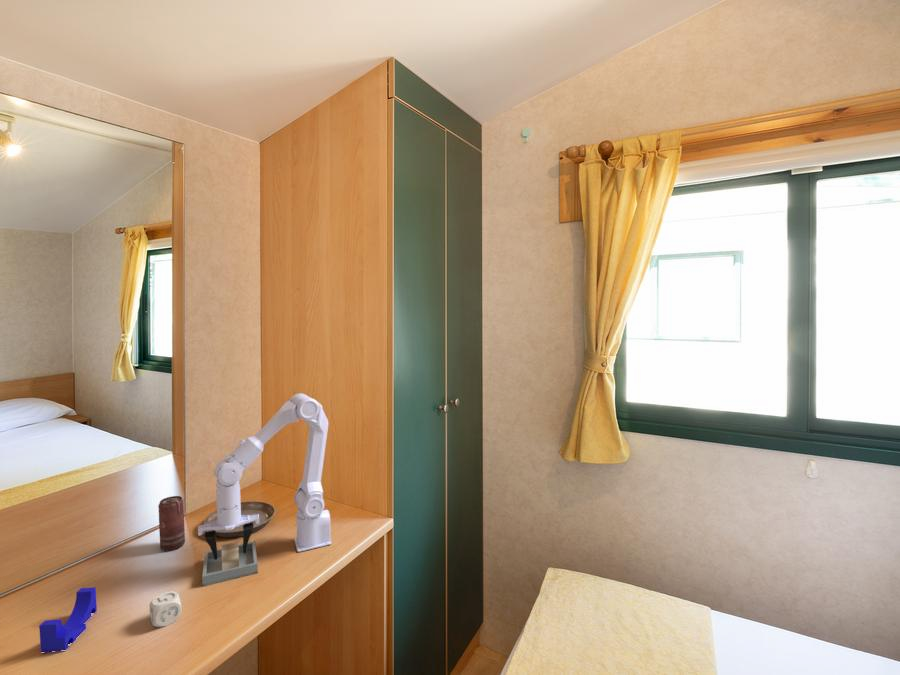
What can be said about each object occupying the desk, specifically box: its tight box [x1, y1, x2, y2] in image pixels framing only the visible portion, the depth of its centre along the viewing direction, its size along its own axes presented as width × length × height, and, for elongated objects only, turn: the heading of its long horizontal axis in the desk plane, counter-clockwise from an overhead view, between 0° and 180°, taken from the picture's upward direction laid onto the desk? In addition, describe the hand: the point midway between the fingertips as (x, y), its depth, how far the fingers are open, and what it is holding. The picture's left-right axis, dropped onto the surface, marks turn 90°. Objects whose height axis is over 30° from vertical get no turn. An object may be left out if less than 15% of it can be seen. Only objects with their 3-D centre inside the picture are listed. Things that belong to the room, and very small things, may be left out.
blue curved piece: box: [38, 586, 98, 653], centre depth 94 cm, size 12×4×6 cm, turn 8°
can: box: [158, 495, 186, 552], centre depth 128 cm, size 6×6×14 cm
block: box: [221, 541, 239, 570], centre depth 118 cm, size 4×4×5 cm
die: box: [148, 590, 182, 628], centre depth 98 cm, size 5×5×5 cm
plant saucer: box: [203, 500, 276, 538], centre depth 142 cm, size 21×21×3 cm
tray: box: [201, 540, 259, 587], centre depth 118 cm, size 13×13×2 cm
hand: (230, 554), depth 118 cm, fingers open, 6 cm apart
